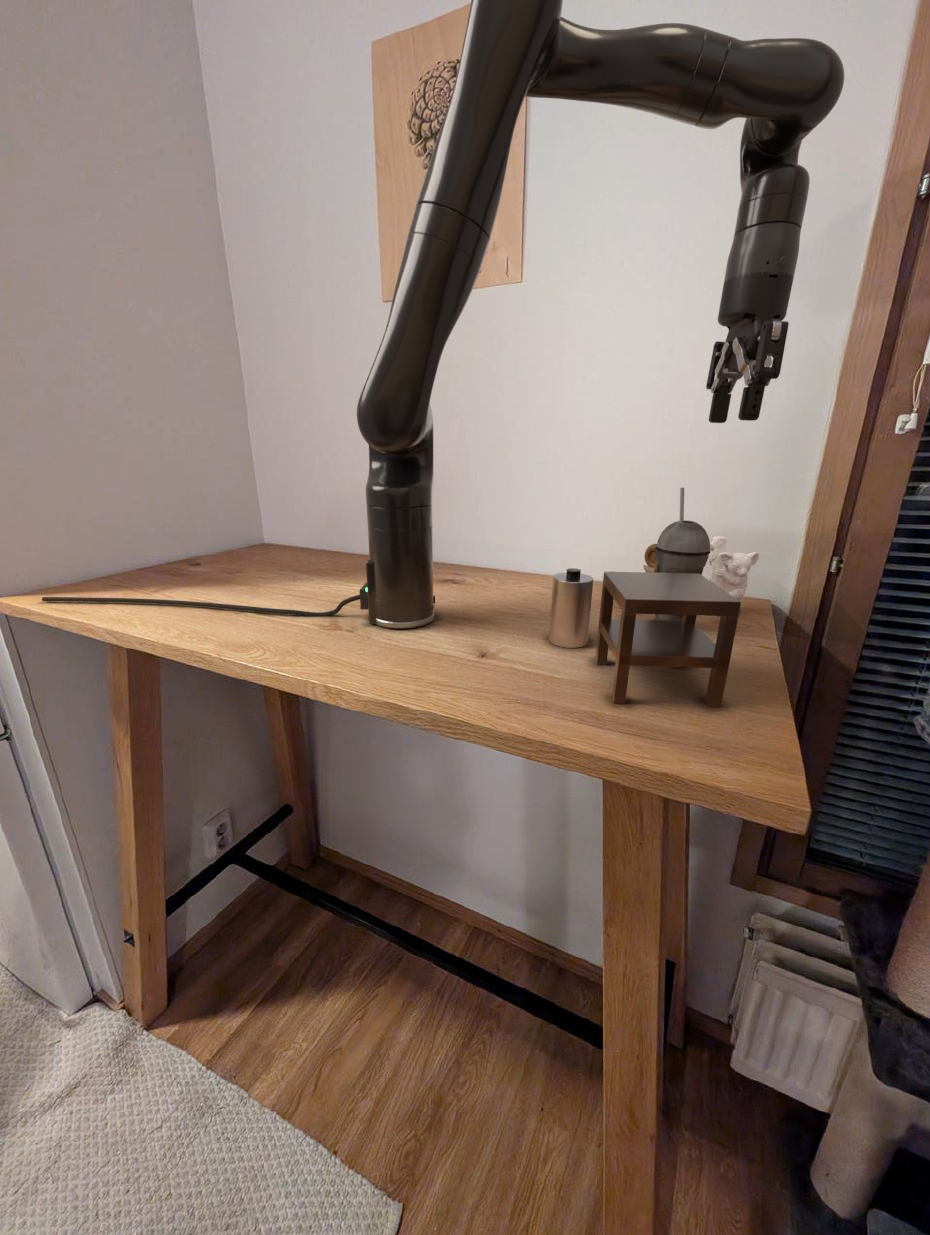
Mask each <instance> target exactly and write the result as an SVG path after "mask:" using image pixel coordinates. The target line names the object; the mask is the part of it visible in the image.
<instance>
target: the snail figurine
mask: <svg viewBox="0 0 930 1235" xmlns="http://www.w3.org/2000/svg"><path fill="white" fill-rule="evenodd" d="M656 545H657V543H652V544H650V545H649V546H647V548H646V549H645V552H644V562H645V563H646V564H644V565H643V570H644V571H645V572H649V573H657V562H656V549H655V547H656Z"/></svg>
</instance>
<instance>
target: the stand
mask: <svg viewBox="0 0 930 1235" xmlns="http://www.w3.org/2000/svg"><path fill="white" fill-rule="evenodd" d="M602 577H603V578H602V586H601V587H602V588H601V598H600V599H601V600H600V608H599V618H598V628H597V629H598V630H597V639H596V650H595V659H594V660H595V663H596V665H598V666H600V665H601V666H607V665H608V655H609V650H610V653H611V654H612V656H613V658H614V659H615V665H614V673H613V682H612V683H613V684H612V692H611V700H612V702H613V704H621V705H625V704H626V700H627V694H628V693H627V691H628V685H629V675H630V669H631V668H630V667H631V666H633V667H660V668H661V667H662V668H663V667H666V668H667V667H668V668H699V669H710V672H709V679H708V683H707V690H706V694H705V700H704V701H705V703H706V704H707V706H708V707H709V708H721V707H722V704H723V698H724V695H725V694H724V693H725V688H726V683H727V677H728V672H729V668H730V662H731V656H732V653H733V647H734V642H735V637H736V632H737V627H738V621H739V615H740V611H741V606H742V601H741V600H737V599H736V598H734V597H733V596H731V595H730V594H729V593H727V592H726V591H724V590H723V589H721V588H720V587H718V586H717V585H715V584H714V583H712V582H711V581H710V579H708V578H707V577H705V576H703V574H702V575H701V574H696V573H649V572H646V571H645V572H643V571H642V572H641V571H603V576H602ZM614 601H615V603H616V604H617V606H618V607H619V608H620V609H621V613H620V618H618V619H617V618H616V619H615V618H613V609H614ZM655 614H665V615H683V616H682V621H661V620H655V619H653V620H652V619H637V615H655ZM697 616H708V617H709V616H710V617H711V616H712V617H720V618H719V623H718V629H717V635H716V639H715V642H714V641H713V640H712V639H711V638H710V637H709V636H708V635H707V634H706V633H705V632H704V631H703V630H701V629H700V628H699V627H698V626H697V625H696V622H697Z"/></svg>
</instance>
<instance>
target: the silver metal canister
mask: <svg viewBox="0 0 930 1235" xmlns="http://www.w3.org/2000/svg"><path fill="white" fill-rule="evenodd" d="M581 572H582V570H581V569H579V568H573V567H572V568H571V567H570V568H567V569H566V572H560V573H559V572H558V573H555V574H554V575H553V576H552V586H551V588H552V589H551V602H550V617H549V618H550V620H549V635H548V640H549V642H550V643H551V644H552V645H555V646H556V647H560V648H566V649H577V648H582V647H585V646H587V644H588V643H589V630H590V620H591V612H592V611H591V610H592V599H593V598H592V597H593V590H594V589H593V587H594V577H593V576H591V575H589V574H585V573H581Z"/></svg>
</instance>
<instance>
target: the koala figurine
mask: <svg viewBox="0 0 930 1235" xmlns="http://www.w3.org/2000/svg"><path fill="white" fill-rule="evenodd" d="M727 541H728V538H727V537H726V536H723V535H721V534H720V535H719V534H718V535H716V536H713V537H712V540H711V541H710V554H709V556H708V563H709V565H710V567H711V571H710V572H711V573H710V578H709V581H711V582H712V583H714V584H715V585H717V586H718V587H720V588H721V589H723V590H724V591H726V592H727V593H729V594H730V595H731V596H733V597H734V598H736V599H737V600H739V601H741V600H742V599H743V598H744V597H745V595H746V592H747V588H748V579H749V578H748V573H749V571H750V570H751V567H752V566H754V565H756V564H757V563H758V560H759V557H760V554H759V552H758V551H752V552H749V553H745V552H735V553H733V552H732V553H731V552H728V551H727Z"/></svg>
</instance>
